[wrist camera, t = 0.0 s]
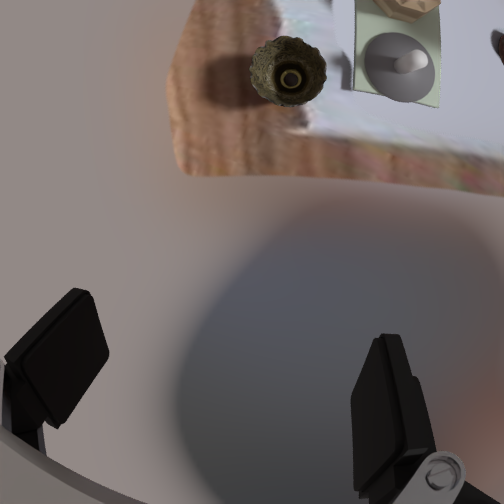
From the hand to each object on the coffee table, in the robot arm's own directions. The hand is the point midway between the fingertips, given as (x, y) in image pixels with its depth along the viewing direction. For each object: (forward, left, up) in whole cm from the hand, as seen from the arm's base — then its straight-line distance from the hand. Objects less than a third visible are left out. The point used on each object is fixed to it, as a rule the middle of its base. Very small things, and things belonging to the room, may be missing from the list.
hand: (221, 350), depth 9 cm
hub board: (-20, +13, -31) cm, 39 cm away
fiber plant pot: (-11, 0, -31) cm, 33 cm away
